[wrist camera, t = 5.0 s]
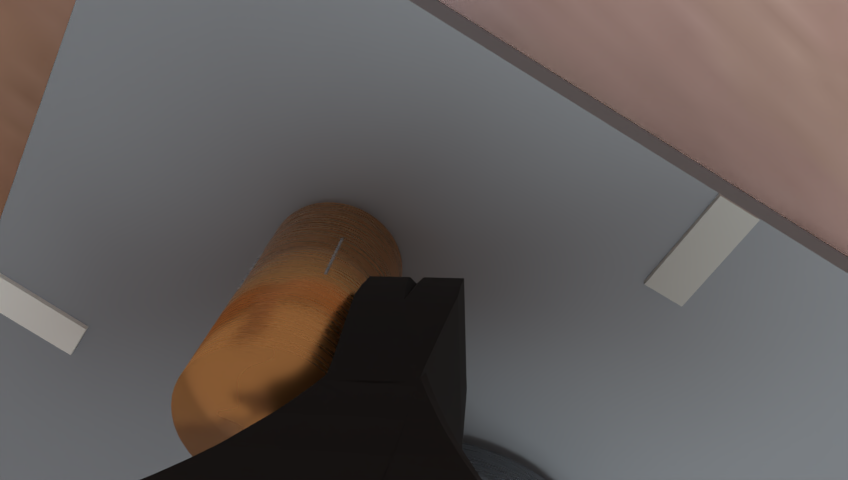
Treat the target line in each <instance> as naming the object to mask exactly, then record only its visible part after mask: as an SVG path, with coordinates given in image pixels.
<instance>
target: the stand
mask: <svg viewBox="0 0 848 480" xmlns="http://www.w3.org/2000/svg"><path fill="white" fill-rule="evenodd" d="M324 202H335V203H342V204H347V205H351V206H354V207H356V208H359V209H361V210H363V211H365V212H367V213H369V214H370V215H372V216H373V217H375V218H376V219H377V220H378V221H380V222H381V223H382V224H383V225H384V226H385V227H386V228H387V230H388V231H389V232H390V233H391V235H392V236H393V238H394V240H395V242H396V243H397V245H398V248H399V251H400V254H401V259H402V277H410V278H411V279H413V280H414V281H415V282H416V283H418V282H419V281H420V280H421V279H422V278H424V277H432V278H464V294H465V336H466V378H467V395H466V407H465V420H464V432H463V443H466V444H470V445H474V446H478V447H481V448H485V449H487V450H490V451H493V452H495V453H498V454H501V455H503V456H506V457H508V458H510V459H512V460H514V461H516V462H518V463H520V464H522V465H524V466H526V467H527V468H529V469H530V470H532V471H533V472H535V473H536V474H538V475H539V476H541V477H543V478H544V479H545V480H848V257H847V256H845V255H843V254H842V253H840V252H839V251H837V250H835V249H834V248H832V247H831V246H829V245H827V244H826V243H824V242H823V241H821V240H819V239H818V238H816V237H815V236H813V235H811V234H810V233H808V232H807V231H805V230H803V229H802V228H800V227H799V226H797V225H795V224H794V223H792V222H791V221H789V220H787V219H786V218H784V217H783V216H781V215H779V214H778V213H776V212H775V211H773V210H771V209H770V208H768V207H767V206H765V205H763V204H762V203H760V202H759V201H757V200H756V199H754V198H752V197H751V196H749V195H748V194H746V193H744V192H743V191H741V190H740V189H738V188H736V187H735V186H733V185H732V184H730V183H728V182H727V181H725V180H724V179H722V178H720V177H719V176H717V175H716V174H714V173H712V172H711V171H709V170H708V169H706V168H704V167H703V166H701V165H700V164H698V163H696V162H695V161H693V160H692V159H690V158H688V157H687V156H685V155H684V154H682V153H680V152H679V151H677V150H676V149H674V148H672V147H671V146H669V145H668V144H666V143H664V142H663V141H661V140H660V139H658V138H656V137H655V136H653V135H652V134H650V133H648V132H647V131H645V130H644V129H642V128H640V127H639V126H637V125H636V124H634V123H632V122H631V121H629V120H628V119H626V118H624V117H623V116H621V115H620V114H618V113H617V112H615V111H613V110H612V109H610V108H609V107H607V106H605V105H604V104H602V103H601V102H599V101H597V100H596V99H594V98H593V97H591V96H589V95H588V94H586V93H585V92H583V91H581V90H580V89H578V88H577V87H575V86H573V85H572V84H570V83H569V82H567V81H565V80H564V79H562V78H561V77H559V76H557V75H556V74H554V73H553V72H551V71H549V70H548V69H546V68H545V67H543V66H541V65H540V64H538V63H537V62H535V61H533V60H532V59H530V58H529V57H527V56H525V55H524V54H522V53H521V52H519V51H517V50H516V49H514V48H513V47H511V46H509V45H508V44H506V43H505V42H503V41H501V40H500V39H498V38H497V37H495V36H493V35H492V34H490V33H489V32H487V31H485V30H484V29H482V28H481V27H479V26H477V25H476V24H474V23H473V22H471V21H470V20H468V19H466V18H465V17H463V16H462V15H460V14H458V13H457V12H455V11H454V10H452V9H450V8H449V7H447V6H446V5H444V4H442V3H441V2H439V1H438V0H76V2H75V5H74V8H73V11H72V14H71V17H70V20H69V22H68V25H67V28H66V31H65V34H64V37H63V40H62V43H61V46H60V48H59V51H58V54H57V57H56V60H55V63H54V66H53V69H52V72H51V74H50V77H49V80H48V83H47V86H46V89H45V92H44V95H43V98H42V100H41V103H40V106H39V109H38V112H37V115H36V118H35V121H34V124H33V126H32V129H31V132H30V135H29V138H28V141H27V144H26V147H25V150H24V152H23V155H22V158H21V161H20V164H19V167H18V170H17V173H16V176H15V178H14V181H13V184H12V187H11V190H10V193H9V196H8V199H7V202H6V204H5V207H4V210H3V213H2V216H1V219H0V480H140V479H143V478H145V477H148V476H150V475H153V474H155V473H157V472H160V471H162V470H164V469H166V468H169V467H171V466H173V465H175V464H177V463H180V462H182V461H184V460H186V459H189V458H191V457H193V456H192V455H191V454H190V453H189V452H188V450H187V449H186V447H185V446H184V445H183V443H182V441H181V440H180V438H179V436H178V434H177V431H176V429H175V426H174V423H173V419H172V412H171V400H172V393H173V390H174V386H175V384H176V382H177V380H178V378H179V376H180V375H181V373H182V372H183V370H184V369H185V367H186V366H187V364H188V363H189V361H190V360H191V358H192V357H193V355H194V354H195V352H196V351H197V349H198V348H199V346H200V345H201V343H202V342H203V340H204V339H205V337H206V336H207V334H208V333H209V331H210V330H211V328H212V327H213V325H214V324H215V322H216V321H217V319H218V318H219V316H220V315H221V313H222V312H223V310H224V309H225V307H226V306H227V304H228V303H229V301H230V300H231V298H232V297H233V295H234V294H235V292H236V291H237V288H238V286H239V285H240V283H241V282H242V280H243V279H244V277H245V276H246V274H247V273H248V271H249V270H250V268H251V267H252V265H253V264H254V262H255V261H256V259H257V258H258V256H259V255H260V253H261V252H262V251H263V250H264V249H265V247H266V246H267V244H268V243H269V241H270V240H271V238H272V237H273V235H274V234H275V232H276V231H277V229H278V228H279V226H280V225H281V223H282V222H283V221H284V220H285V219H286V218H287V217H288V216H290V215H291V214H292V213H294V212H295V211H297V210H299V209H301V208H303V207H306V206H308V205H312V204H316V203H324Z"/></svg>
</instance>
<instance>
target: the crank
mask: <svg viewBox="0 0 848 480" xmlns="http://www.w3.org/2000/svg"><path fill="white" fill-rule="evenodd" d="M370 276H384V277H402V259H401V254H400V251H399V248H398V245H397V243H396V242H395V240H394V238H393V236H392V235H391V233H390V232H389V231H388V230H387V228H386V227H385V226H384V225H383V224H382V223H381V222H380V221H378V220H377V219H376V218H375V217H373V216H372V215H370V214H369V213H367V212H365V211H363V210H361V209H359V208H356V207H354V206H351V205H347V204H342V203H335V202H324V203H316V204H312V205H308V206H306V207H303V208H301V209H299V210H297V211H295V212H294V213H292V214H291V215H290V216H288V217H287V218H286V219H285V220H284V221H283V222H282V223H281V225H280V226H279V228H278V229H277V231H276V232H275V234H274V235H273V237H272V238H271V240H270V241H269V243H268V244H267V246H266V247H265V249H264V250H263V251H262V252H261V253H260V255H259V256H258V258H257V259H256V261H255V262H254V264H253V265H252V267H251V268H250V270H249V271H248V273H247V274H246V276H245V277H244V279H243V280H242V282H241V283H240V285H239V286H238V288H237V291H236V292H235V294H234V295H233V297H232V298H231V300H230V301H229V303H228V304H227V306H226V307H225V309H224V310H223V312H222V313H221V315H220V316H219V318H218V319H217V321H216V322H215V324H214V325H213V327H212V328H211V330H210V331H209V333H208V334H207V336H206V337H205V339H204V340H203V342H202V343H201V345H200V346H199V348H198V349H197V351H196V352H195V354H194V355H193V357H192V358H191V360H190V361H189V363H188V364H187V366H186V367H185V369H184V370H183V372H182V373H181V375H180V376H179V378H178V380H177V382H176V384H175V386H174V390H173V393H172V400H171V412H172V419H173V423H174V426H175V429H176V431H177V434H178V436H179V438H180V440H181V441H182V443H183V445H184V446H185V447H186V449H187V450H188V452H189V453H190V454H191V455H192V456H195V455H197V454H199V453H201V452H203V451H205V450H207V449H209V448H211V447H213V446H215V445H217V444H219V443H221V442H223V441H225V440H226V439H228V438H230V437H232V436H233V435H235V434H237V433H238V432H240V431H242V430H244V429H245V428H247V427H249V426H250V425H252V424H254V423H256V422H257V421H259V420H261V419H263V418H264V417H266V416H268V415H269V414H271V413H273V412H274V411H276V410H278V409H279V408H281V407H282V406H284V405H285V404H287V403H288V402H289V401H291V400H292V399H294V398H295V397H297V396H298V395H299V394H301V393H302V392H304V391H305V390H307V389H308V388H309V387H311V386H312V385H313V384H315V383H316V382H317V381H319V380H320V379H321V378H322V377H324V376H325V375H326V374H327V371H328V369H329V367H330V365H331V362H332V359H333V356H334V353H335V350H336V347H337V344H338V341H339V338H340V335H341V332H342V329H343V326H344V323H345V320H346V317H347V314H348V311H349V308H350V306H351V303H352V300H353V297H354V295H355V293H356V292H357V290H358V289H359V288H360V286H361V285H362V284H363V283H364V282H365V281H366V280H367V279H368V278H369V277H370ZM462 450H463V451H464V453H465V455H466V456H467V458H468V459H469V461H470V462H471V464H472V465H473V467H474V468H475V470H476V471H477V473H478V474H479V476H480V477H481V479H482V480H545V479H544V478H543V477H541V476H539V475H538V474H536V473H535V472H533V471H532V470H530V469H529V468H527V467H526V466H524V465H522V464H520V463H518V462H516V461H514V460H512V459H510V458H508V457H506V456H503V455H501V454H498V453H495V452H493V451H490V450H487V449H485V448H481V447H478V446H474V445H470V444H466V443H463V444H462Z"/></svg>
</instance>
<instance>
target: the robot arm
mask: <svg viewBox="0 0 848 480" xmlns="http://www.w3.org/2000/svg"><path fill="white" fill-rule="evenodd" d="M466 395H467V378H466V336H465V294H464V278H432V277H424V278H422V279H421V280H420V281H419V282H418V283H416V282H415V281H414V280H413V279H411V278H410V277H384V276H370V277H369V278H368V279H367V280H366V281H365V282H364V283H363V284H362V285H361V286H360V288H359V289H358V290H357V292H356V293H355V295H354V297H353V300H352V303H351V306H350V308H349V311H348V314H347V317H346V320H345V323H344V326H343V329H342V332H341V335H340V338H339V341H338V344H337V347H336V350H335V353H334V356H333V359H332V362H331V365H330V367H329V369H328V371H327V374H326V375H325V376H324V377H322V378H321V379H320V380H319V381H317V382H316V383H315V384H313V385H312V386H311V387H309V388H308V389H307V390H305V391H304V392H302V393H301V394H299V395H298V396H297V397H295V398H294V399H292V400H291V401H289V402H288V403H287V404H285V405H284V406H282V407H281V408H279V409H278V410H276V411H274V412H273V413H271V414H269V415H268V416H266V417H264V418H263V419H261V420H259V421H257V422H256V423H254V424H252V425H250V426H249V427H247V428H245V429H244V430H242V431H240V432H238V433H237V434H235V435H233V436H232V437H230V438H228V439H226V440H225V441H223V442H221V443H219V444H217V445H215V446H213V447H211V448H209V449H207V450H205V451H203V452H201V453H199V454H197V455H195V456H193V457H191V458H189V459H186V460H184V461H182V462H180V463H177V464H175V465H173V466H171V467H169V468H166V469H164V470H162V471H160V472H157V473H155V474H153V475H150V476H148V477H145V478H143V479H140V480H482V479H481V477H480V476H479V474H478V473H477V471H476V470H475V468H474V467H473V465H472V464H471V462H470V461H469V459H468V458H467V456H466V455H465V453H464V451H463V450H462V444H463V432H464V420H465V407H466Z"/></svg>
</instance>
